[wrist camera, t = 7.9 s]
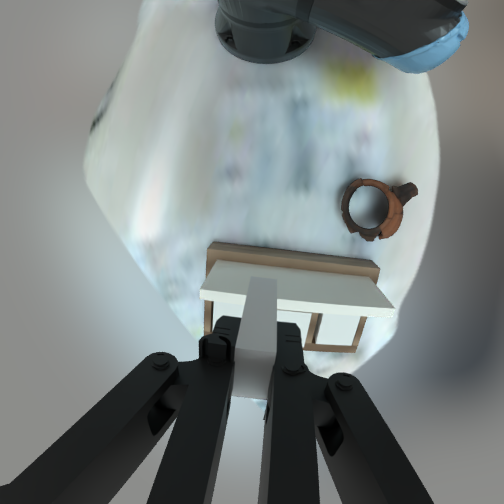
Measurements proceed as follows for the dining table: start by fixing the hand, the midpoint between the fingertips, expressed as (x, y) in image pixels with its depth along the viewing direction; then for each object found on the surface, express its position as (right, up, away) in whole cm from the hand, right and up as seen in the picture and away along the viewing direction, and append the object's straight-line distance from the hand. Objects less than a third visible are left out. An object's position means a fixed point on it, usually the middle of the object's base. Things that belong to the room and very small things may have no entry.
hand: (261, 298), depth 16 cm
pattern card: (+5, 0, +22) cm, 23 cm away
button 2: (+13, -8, +26) cm, 30 cm away
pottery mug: (+18, +10, +23) cm, 31 cm away
